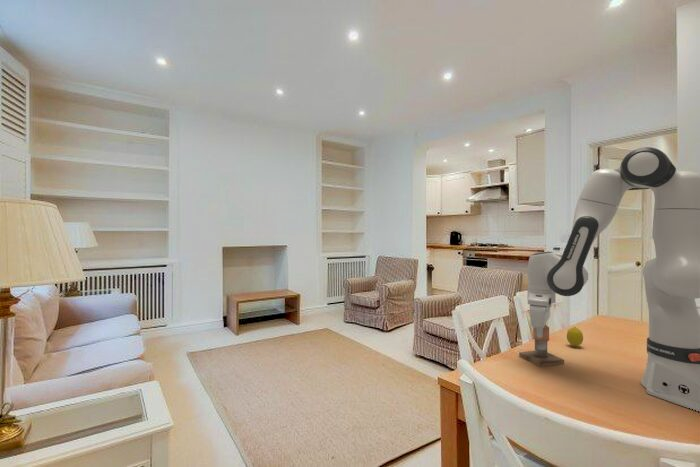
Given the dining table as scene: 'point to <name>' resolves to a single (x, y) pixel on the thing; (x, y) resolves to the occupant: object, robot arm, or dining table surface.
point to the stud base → (541, 360)
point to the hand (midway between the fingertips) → (541, 334)
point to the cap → (545, 334)
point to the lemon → (574, 336)
